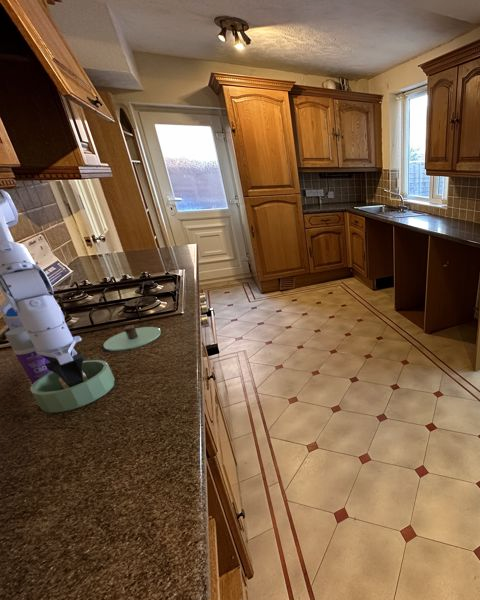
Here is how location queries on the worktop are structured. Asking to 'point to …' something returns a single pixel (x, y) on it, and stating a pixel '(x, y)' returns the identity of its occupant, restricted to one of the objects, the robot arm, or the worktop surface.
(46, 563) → the worktop surface
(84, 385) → the pot
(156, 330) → the lid
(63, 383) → the block
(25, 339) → the container
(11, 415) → the worktop surface
